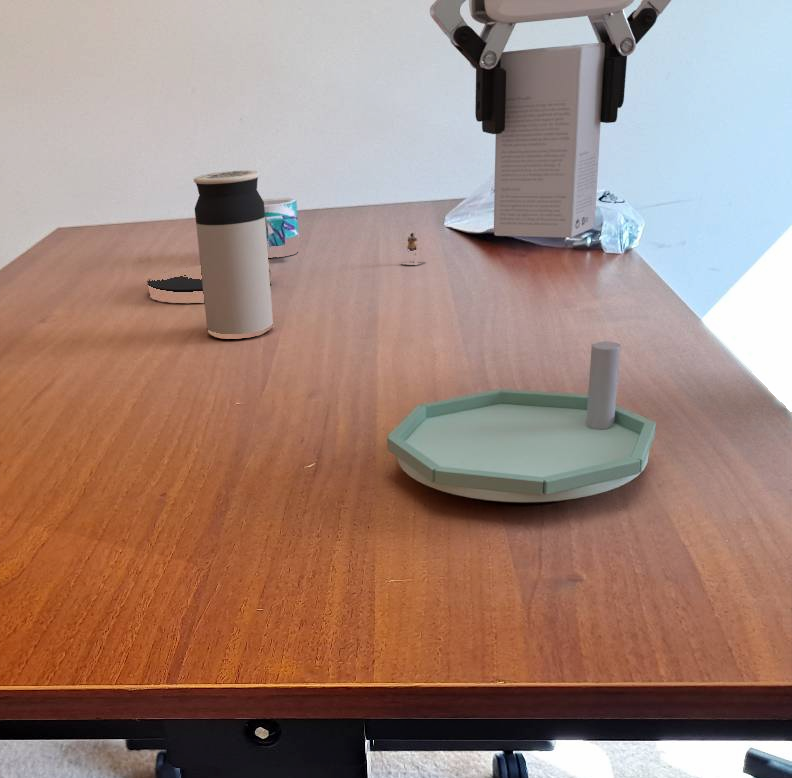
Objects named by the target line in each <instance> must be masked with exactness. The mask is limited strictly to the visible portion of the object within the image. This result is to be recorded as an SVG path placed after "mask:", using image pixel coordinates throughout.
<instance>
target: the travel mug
mask: <svg viewBox="0 0 792 778" xmlns="http://www.w3.org/2000/svg"><path fill="white" fill-rule="evenodd" d="M260 175H261V174H260V172H259V171H258V170H228V171H227V170H226V171H218V172H212V173H205V174H200V175H197V176H195V177H194V178H193V182H194V184H196V188H197V192H198V197H197V201H196V203H195V206H194V217H195V225H196V226H195V227H196V236H197V243H198V244H197V245H198V253H199V265H201V275H202V284H203V294H204V312H205V320H206V329H207V328H208V330H210V331H212V332H216V333H220V334H243V333H251V332H257V331H261V330H264V329H266V328H268V327H270V326H271V325H272V324H273V325H274V317H273V316H274V315H273V302H272V290H271V286H270V276H271V275H270V276H269V269H270V266H269V264H270V262H269V259H268V249H267V236H266V223H265V209H264V201H263V200H262V199H263V197H262V196H261V195H260V193H259V191H258V180H259V177H260Z"/></svg>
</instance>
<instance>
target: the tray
mask: <svg viewBox="0 0 792 778" xmlns="http://www.w3.org/2000/svg"><path fill="white" fill-rule="evenodd" d="M621 347H622V346H621V344H620V343H618V342H615V341H598V342H594V343H593V344H591V350H590V362H589V378H588V390H587V391H588V392H587V394H584V393H568V392H555V391H554V392H553V391H540V390H523V389H506V388H500V389H498V388H497V389H492V390H488V391H487V390H486V391H482V392H481V391H480V392H477V393H476V392H475V393H471V394H467V395H461V396H456V397H451V398H450V397H449V398H445V399H439V400H435V401H430V402H425V403H420V404H419V405H416V406H415V407H414V408H413V409H412V411H411V410H410V412H409V413H408V414H407V415H406V416H405V417H404V418H403V419H402V421H401V422H399V424H397V425H396V426H395V428H394V429H392V430H391V431H390V432H389V434H388V435H386V449H387V451H388V452H389V453H391V454H392V455H394V456H395V457H396V460H397V464H398V466H400V468H401V469H402V471H403V472H404V473H406V474H407V475H408V477H411V478H412V479H414V480H415V481H417V482H419V483H421V484H423V485H425V486H427V487H429V488H432V489H435V490H437V491H440V492H444V493H447V494H451V495H455V496H459V497H465V498H467V497H469V498H468V499H471V498H476V499H483V500H491V501H503V502H548V501H560V500H566V501H569V500H574V499H580V498H585V497H591V496H595V495H598V494H602V493H605V492H608V491H611V490H615V489H618V488H620V487H621V486H624V485H626V484H628V483H629V482H632V481H633V480H634V479H635V478H638V476H639V475H640V474H641V473H642V472H643V471H644V469H645V468H646V466H647V464H648V462H649V455H650V454H649V453H650V449H651V447H652V444H653V441H654V439H655V436H656V428H657V427H656V426H657V424H656V422H655V421H654V420H651V419H649V418H647V417H645V416H642V415H640V414H638V413H636V412H633V411H631V410H629V409H626V408H624V407H622V406H620V405H618V404H617V396H618V395H617V394H618V393H617V392H618V382H619V381H618V380H619V371H620V357H621ZM568 499H569V500H568Z"/></svg>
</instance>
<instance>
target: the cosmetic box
mask: <svg viewBox="0 0 792 778" xmlns="http://www.w3.org/2000/svg"><path fill="white" fill-rule="evenodd" d="M604 55H605V44H604V43H599V42H591V43H581V44H572V45H562V46H561V45H560V46H551V47H540V48H539V47H538V48H529V49H528V48H527V49H517V50H509V51H503V52H502V55H501V57H500V59H501V66H500V68H504V70H506V104H505V130H504V131H502V133H501V134H495V147H494V148H495V150H494V153H495V155H494V193H493V194H494V195H493V197H494V198H493V199H494V201H493V203H494V204H493V234H494V236H496V237H497V236H498V237H529V238H530V237H532V238H534V237H536V238H564V239H565V238H566V239H567V238H573V237H576V236H578V235H581V234H583V233H585V232H587V231H590V230H592V229H594V228H595V225H596V207H597V192H598V175H599V173H598V172H599V157H600V142H601V141H600V139H601V123H602V122H601V107H602V89H603V71H604Z"/></svg>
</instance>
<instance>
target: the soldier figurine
mask: <svg viewBox="0 0 792 778" xmlns="http://www.w3.org/2000/svg"><path fill="white" fill-rule="evenodd" d="M417 242H418V237H417V236H416V235H415V233H414V232H411V233H410V235H409V236H407V245H406V248H407V250H408V249H409V250H410V251H414V250H417V251H418V247H417V246H418V244H417Z"/></svg>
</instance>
